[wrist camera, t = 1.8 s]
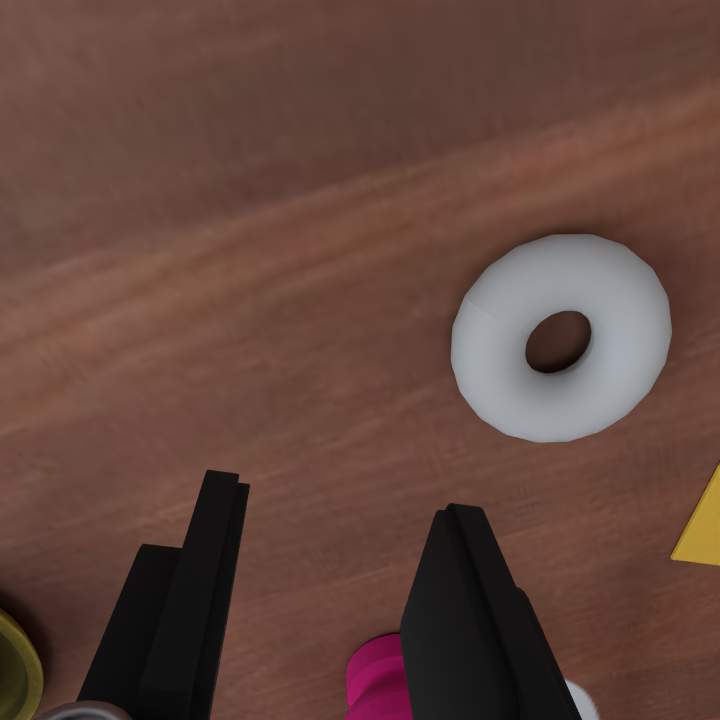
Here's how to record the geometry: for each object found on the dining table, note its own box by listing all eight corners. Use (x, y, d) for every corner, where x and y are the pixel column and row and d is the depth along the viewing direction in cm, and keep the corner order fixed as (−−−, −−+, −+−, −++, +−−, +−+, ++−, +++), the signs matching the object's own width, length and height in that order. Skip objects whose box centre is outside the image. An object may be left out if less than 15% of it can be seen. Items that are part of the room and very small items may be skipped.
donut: (608, 428, 30) (678, 241, 26) (641, 465, 27) (727, 260, 23) (424, 409, 29) (469, 210, 25) (437, 446, 26) (491, 226, 22)
